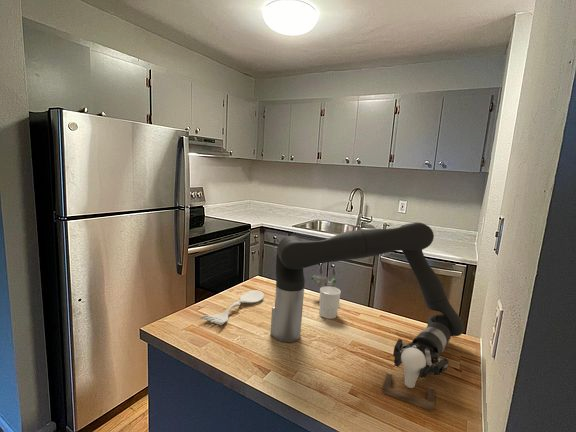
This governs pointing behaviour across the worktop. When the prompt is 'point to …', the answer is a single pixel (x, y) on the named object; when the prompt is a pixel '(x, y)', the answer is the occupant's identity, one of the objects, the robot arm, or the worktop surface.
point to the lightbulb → (412, 365)
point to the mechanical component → (322, 281)
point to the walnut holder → (409, 395)
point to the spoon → (245, 298)
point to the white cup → (329, 302)
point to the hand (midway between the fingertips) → (408, 368)
